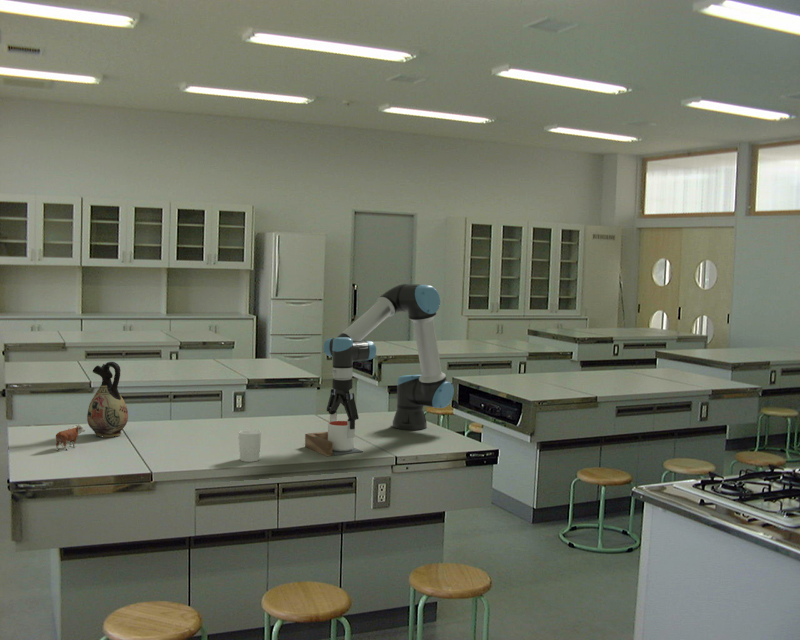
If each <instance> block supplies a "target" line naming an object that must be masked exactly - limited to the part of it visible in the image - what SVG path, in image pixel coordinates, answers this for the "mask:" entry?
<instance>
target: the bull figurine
mask: <svg viewBox="0 0 800 640" xmlns="http://www.w3.org/2000/svg"><path fill="white" fill-rule="evenodd" d="M85 431H86V429H85V428H84V426H83V425H81V424H77V425H73V426H72V427H70V428H68V429H65V430H61V431H58V432H57V433H56V435H55V440H56V443H55V450H56V449H59V445H61V448H62V449H64V450H65V449H69V448H68V447H67V445H68V443H69V446H70V445H73V447H76V442H77V438H78V436H79V435H80V434H81V433H82V432H83V433H85ZM73 447H72V448H73Z"/></svg>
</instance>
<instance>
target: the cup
mask: <svg viewBox="0 0 800 640" xmlns="http://www.w3.org/2000/svg"><path fill="white" fill-rule="evenodd" d="M347 422H348V421H347V420H337V421H332V422H330V421H329V422H328V423H327V432H328V441H331V442H333V444H332V451H338V452H344V451H350V450H352V449H353V448H355V437H354V438H347Z"/></svg>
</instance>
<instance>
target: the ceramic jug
mask: <svg viewBox="0 0 800 640" xmlns="http://www.w3.org/2000/svg"><path fill="white" fill-rule="evenodd" d="M110 368H113V369H114V376H113V373H112V372H111V370H110ZM92 373H94V375H95V374H96V375H98V376H99V377H101V379H102V380H101V384H100V385H99V388H98V389H97V391H96V392H95V394H94V395H93V397H92V399H91V400H90V403H89V405H88V408H87V409H88V410H87V414H86V421H87V423H88V427H89V428H90V429H91V430H92V431H93V432H94V434H95V435H97V436H103V437H102V438H113V437H114V436H115V437H119V436H120V435H122V431H123V429H124V428H125V426H127V423H128V422H129V421H128V420H129V412H128V411H129V410H128V408H127V404H126V402H125V400H124V398H123V397H122V395H121V393H120V391H119V389H118V385H119V383H120V379H121V367H120V365H119V364H118V363H116V361H108V362H105V363H103V364H102V366H101V365H96V366H94V368H93V369H92ZM112 379H113V382H112ZM97 436H96V437H97Z"/></svg>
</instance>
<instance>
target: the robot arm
mask: <svg viewBox="0 0 800 640" xmlns="http://www.w3.org/2000/svg"><path fill="white" fill-rule="evenodd" d="M440 305H441V297H440V294H439V292H438V290H437V289H436V288H435V287H434V286H432V285H428V284H416V283H415V284H414V283H413V284H411V283H410V284H409V283H408V284H407V283H403V284H398V285H396V286H393V287H391V288H390V289H388V290H386V291H385V292H384V293H383V294H381V295H380V296H379V297H377V299H376V301H375V303H374V304H373V305H372V306H371V307H370V308H369V309H367V311H366V312H364V313H362V315H361V316H360V317H357V319H356V320H355V321H354V322H353V323H352V324H350V325H349V326H348V327H347V328H345V330H343V331H342V332H341V333H340V334H338V336H336V337H331V338H327V339H326V340H324V343H323V346H322V348H323V353H324V354H325V355H326V356H328V357H330V358H332V371H331V373H332V378H333V379H332V380H331V381H332V382H331V383H332V384H331V385H332V389H331V388H330V393H329V394H330V395H329V398H328V402H327V406H326V412H328V414H329V422H332V421H338V412H337V411H338V410H339V406H340V405H342V406H343V408H344V410H345V413H346V415H347V418H348V419H346V421H348V422H347V438H354V439H355V438H356V437H355V436H356V434H355V431H356V421H357V420H359V413H358V409H357V405H356V400H355V393H354V392H353V393H350V390H352V389H353V379H352V378H353V369H354V367H353V364H354V363H353V362H363V361H365V362H366V361H369V360H372V359H374V358H375V357H376V355H377V346H376V344H375V343H374V342H373V341H372V340H363V339H365V338H366V337H367V336H368V335H369V334H370V333H372V331H373V330H375V329H377V327H378V326H379V325H380V324H381V323H383V322H384V321H385V320H386V319H387V318H388V317H389V318H391V317H393V316H394V315H395V314H397V313H401V312H402V313H403V312H404V313H406V312H407V314H408V315H407V316H408V320H410V321H412V323H413V329H414V335H415V341H416V348H417V354H418V359H419V360H418V361H419V366H420V372H421V374H408V375H407V374H406V375H400V376H399V377H397V384H396V410H395V413H394V416H393V420H392V425H391V426H392V428H394V429H399V430H405V431H417V430H424V429H427V424H428V422H427V418H426V416H425V413H424V407H430V408H435V409H444V408H446V407H448V406H449V404H451V402H452V400H453V397H454V393H455V392H454V391H455V389H454V386H453V383H452V382H450V381H448V380H447V377H446V375H447V374H446V373H445V372H443V371H442V365H441V358H440V353H439V347H438V346H439V345H438V340H437V334H436V333H437V332H436V327H435V320H434V319H435V317H436V316H437V312H438V311H439V309H440Z"/></svg>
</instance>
